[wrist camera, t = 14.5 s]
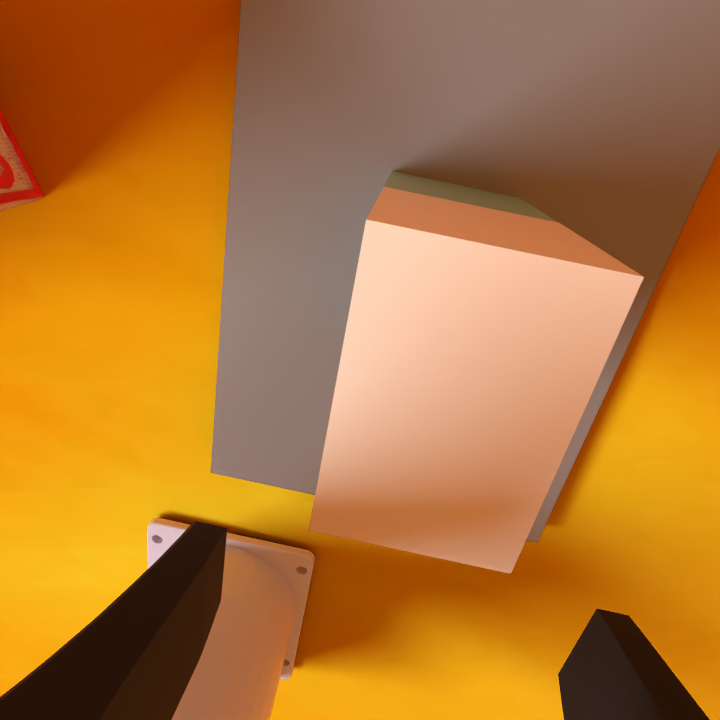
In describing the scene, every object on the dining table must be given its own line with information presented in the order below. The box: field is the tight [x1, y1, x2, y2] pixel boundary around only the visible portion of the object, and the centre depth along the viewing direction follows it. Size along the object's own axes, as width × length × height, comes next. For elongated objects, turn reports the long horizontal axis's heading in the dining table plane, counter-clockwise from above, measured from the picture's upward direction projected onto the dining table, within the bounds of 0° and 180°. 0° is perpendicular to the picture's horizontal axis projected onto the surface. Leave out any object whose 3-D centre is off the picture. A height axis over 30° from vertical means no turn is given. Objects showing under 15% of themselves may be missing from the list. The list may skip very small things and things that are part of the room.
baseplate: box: [211, 0, 720, 542], centre depth 17 cm, size 20×14×1 cm
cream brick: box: [309, 187, 644, 574], centre depth 10 cm, size 6×4×4 cm, turn 170°
